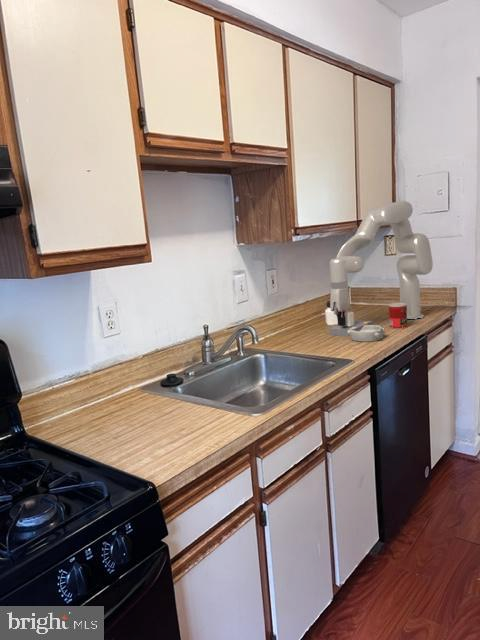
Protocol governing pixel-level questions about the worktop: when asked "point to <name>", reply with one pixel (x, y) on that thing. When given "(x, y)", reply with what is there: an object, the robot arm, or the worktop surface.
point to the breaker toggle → (349, 318)
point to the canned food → (398, 315)
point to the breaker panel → (348, 328)
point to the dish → (367, 333)
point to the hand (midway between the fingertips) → (341, 325)
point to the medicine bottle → (330, 316)
